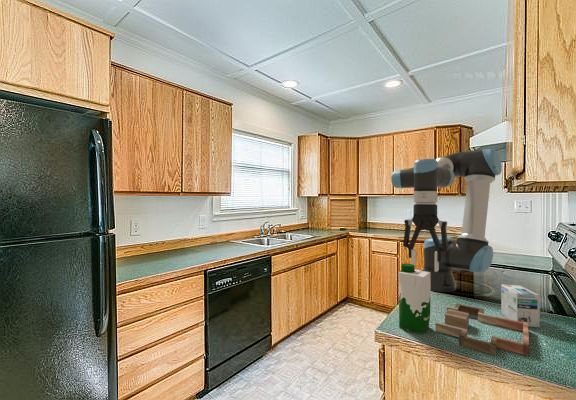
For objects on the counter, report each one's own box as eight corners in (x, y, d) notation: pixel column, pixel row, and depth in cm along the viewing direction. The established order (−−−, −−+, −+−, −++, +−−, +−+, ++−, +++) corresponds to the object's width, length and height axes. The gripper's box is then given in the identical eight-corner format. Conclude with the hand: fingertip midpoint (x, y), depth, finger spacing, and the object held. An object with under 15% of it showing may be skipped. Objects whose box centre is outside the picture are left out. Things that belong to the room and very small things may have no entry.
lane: (447, 312, 106) (447, 306, 106) (527, 331, 92) (527, 323, 92) (435, 331, 92) (435, 323, 92) (528, 356, 77) (529, 346, 77)
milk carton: (404, 319, 101) (405, 261, 100) (433, 326, 95) (433, 265, 95) (395, 327, 94) (395, 266, 94) (425, 336, 88) (425, 270, 88)
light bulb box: (540, 328, 94) (540, 294, 94) (516, 326, 95) (517, 293, 95) (521, 314, 105) (521, 285, 104) (500, 313, 106) (500, 283, 106)
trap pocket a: (456, 310, 109) (456, 303, 109) (483, 316, 103) (483, 309, 103) (454, 314, 105) (454, 307, 105) (482, 320, 99) (482, 313, 99)
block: (448, 320, 100) (448, 308, 100) (468, 325, 96) (468, 313, 96) (444, 326, 96) (444, 314, 96) (466, 331, 92) (466, 319, 92)
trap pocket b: (462, 338, 87) (462, 329, 87) (496, 347, 82) (496, 338, 82) (459, 345, 83) (459, 336, 83) (495, 355, 78) (495, 345, 78)
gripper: (393, 203, 105) (392, 266, 105) (455, 204, 93) (455, 276, 93) (399, 202, 111) (399, 263, 111) (459, 203, 98) (458, 271, 99)
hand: (424, 268), depth 102 cm, fingers open, 7 cm apart
